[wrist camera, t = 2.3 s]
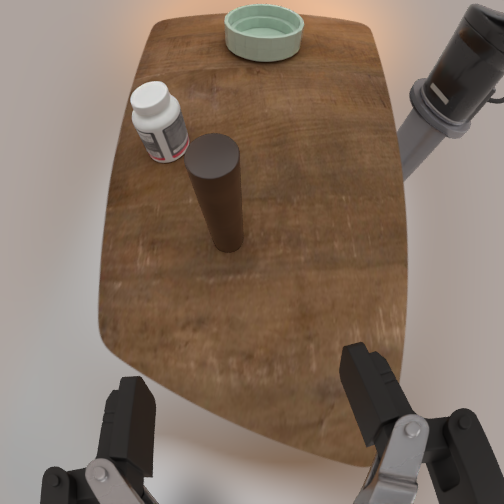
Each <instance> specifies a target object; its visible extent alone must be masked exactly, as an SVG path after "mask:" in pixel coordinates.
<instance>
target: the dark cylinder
mask: <svg viewBox="0 0 504 504" xmlns="http://www.w3.org/2000/svg"><path fill="white" fill-rule="evenodd" d="M184 163H185V166H186V169H187V172H188V174H189V177H190V180H191V183H192V185H193V188H194V191H195V194H196V196H197V199H198V202H199V204H200V207H201V210H202V212H203V215H204V218H205V220H206V223H207V226H208V228H209V231H210V234H211V236H212V239H213V242H214V244H215V246H216V247H217V248H218V249H219V250H220V251H223V252H227V253H228V252H234V251H236V250H237V249H239V248H240V246H241V245H242V243H243V218H242V196H241V173H240V152H239V148H238V146H237V144H236V143H235V142H234V141H233V140H232V139H231V138H230V137H228V136H226V135H223V134H218V133H211V134H206V135H202V136H200V137H198V138H196V139H195V140H194V141H192V142H191V143H190V145H189V146H188V147H187V149H186V152H185V155H184Z"/></svg>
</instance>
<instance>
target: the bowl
mask: <svg viewBox="0 0 504 504" xmlns="http://www.w3.org/2000/svg"><path fill="white" fill-rule="evenodd" d="M224 24H225V41H226V45H227V47H228V49H229V50H230V51H231V52H233V53H234V54H236V55H238V56H240V57H243V58H245V59H249V60H253V61H260V62H271V61H278V60H283V59H286V58H289V57H292V56H293V55H294V54H296V53H297V52H298V51H299V49H300V47H301V42H302V36H303V30H304V21H303V19H302V18H301V17H300V16H299V15H298V14H297V13H295V12H294V11H292V10H290V9H287V8H284V7H281V6H276V5H269V4H253V5H246V6H242V7H239V8H236V9H234V10H232V11H231V12H229V13H228V14H227V15H226V16H225V21H224Z"/></svg>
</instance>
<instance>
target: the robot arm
mask: <svg viewBox="0 0 504 504" xmlns="http://www.w3.org/2000/svg"><path fill="white" fill-rule="evenodd" d="M503 75H504V13H502V12H498V11H495V10H492V9H490V8H487V7H485V6H482V5H479V4H471V5H470V6H469V7H468V9H467V11H466V13H465V14H464V17H463V18H462V20H461V22H460V24H459V26H458V27H457V29H456V31H455V33H454V35H453V36H452V38H451V39H450V41H449V43H448V45H447V46H446V48H445V50H444V51H443V53H442V55H441V56H440V58H439V60H438V62H437V63H436V65H435V66H434V68H433V70H432V71H431V73H430V75H429V77H428V78H427V79H426V81H425V82H424V83H423V85H422V86H421V89H420V92H421V96H422V98H423V100H424V102H425V103H426V105H427V106H428V107H429V108H430V109H431V111H432V112H433V113H435V114H436V115H437V116H438V117H439V118H441V119H442V120H444V121H445V122H447V123H449V124H452V125H456V126H460V125H462V124H464V123H465V122H466V123H469V122H470V120H471V119H472V118H473V117H474V116H475V115H476V113H478V111H479V110H480V109H481V108H482V107H483V106H484V105H485V103H486V102H490V103H503V102H504V97H503V98H501V99H492V98H491V96H492V95H493V94H494V93H495V91H496V89H495V87H494V86H495V85H496V84H497V83H498V81H499V80H500V79H501V78H502V77H503ZM339 373H340V379H341V382H342V385H343V387H344V390H345V392H346V395H347V397H348V400H349V403H350V405H351V408H352V410H353V413H354V415H355V418H356V421H357V423H358V426H359V428H360V431H361V434H362V436H363V439H364V442H365V444H366V447H369V446H372V445H375V447H376V450H377V452H376V455H375V457H374V460H373V462H372V465H371V467H370V470H369V472H368V475H367V477H366V480H365V482H364V484H363V486H362V489H361V491H360V492H359V495H358V496H357V497H356V499H355V501H354V503H353V504H413V502H414V500H415V497H416V493H417V489H418V484H417V482H416V479H417V475H418V472H419V469H420V465H421V463H426V465H427V468H428V471H429V474H430V477H431V480H432V483H433V486H434V489H435V492H436V495H437V498H438V501H439V504H504V477H503V475H502V472H501V470H500V468H499V465H498V462H497V460H496V458H495V455H494V453H493V450H492V448H491V446H490V444H489V442H488V439H487V437H486V435H485V433H484V431H483V428H482V426H481V424H480V422H479V420H478V418H477V416H476V415H475V413H474V412H472V411H471V410H469V409H465V408H462V409H458V410H456V411H454V412H453V413H452V414H451V416H450V417H443V418H434V419H427V418H423V417H421V416H419V415H417V414H416V413H415V412H414V411H413V410H412V408H411V406H410V404H409V402H408V401H407V398H406V396H405V394H404V392H403V391H402V389H401V387H400V385H399V383H398V381H397V380H396V377H395V375H394V374H393V372H392V371H391V368H390V366H389V364H388V362H387V361H386V359H385V358H384V357H382V356H381V355H380V354H379V353H378V352H376V351H375V352H372V353H369V352H368V350H367V348H366V346H365V345H364V343H363V342H359V343H355V344H351V345H347V346H344V347H343V350H342V356H341V362H340V368H339ZM104 411H105V414H104V416H103V423H102V427H101V433H100V439H99V446H98V452H97V456H96V459H95V460H93V461H91V462H90V463H89V464H88V466H87V467H86V468H83V469H77V470H72V471H67V472H66V471H65V470H63V469H62V468H60V467H50V468H49V469H47V470H46V471H45V473H44V475H43V479H42V489H41V501H40V504H159V503H158V502H157V501H156V500H155V499H154V497H153V496H152V495H151V494H150V492H149V491H148V490H147V488H146V487H145V486H144V485H143V482H144V477H153V476H152V475H153V448H154V431H155V430H154V429H155V416H156V404H155V399H154V396H153V395H152V393H151V391H150V390H149V389H148V387H147V385H146V384H145V382H144V380H143V379H142V377H140V376H133V377H122V379H121V381H120V386H119V390H113V391H112V392H111V394H110V396H109V397H108V399H107V400H106V405H105V410H104Z"/></svg>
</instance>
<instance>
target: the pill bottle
mask: <svg viewBox="0 0 504 504" xmlns="http://www.w3.org/2000/svg"><path fill="white" fill-rule="evenodd" d="M131 104H132V107H133V109H134V110H133V113H132V121H133V124H134V126H135V128H136V130H137V132H138V134H139V136H140V138H141V140H142V142H143V144H144V146H145V147H146V150H147V151H148V153H149V155H150V156H151V158H152V159H154V160H155V161H157V162H161V163H168V162H172V161H174V160H177V159H178V158H180V157H181V156H182V155H183V154H184V153H185V152H186V149H187V147H188V146H189V137H188V133H187V130H186V126H185V123H184V119H183V116H182V112H181V109H180V105H179V103H178V101H177V99H176V98H175V97H173V96H172V95H170V93H169V91H168V88H167V86H166V85H165V84H164V83H162V82H158V81H153V82H148V83H145V84H143V85H141V86H140V87H138V88H137V89H136V90H135V91H134V92H133V94H132V96H131Z"/></svg>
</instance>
